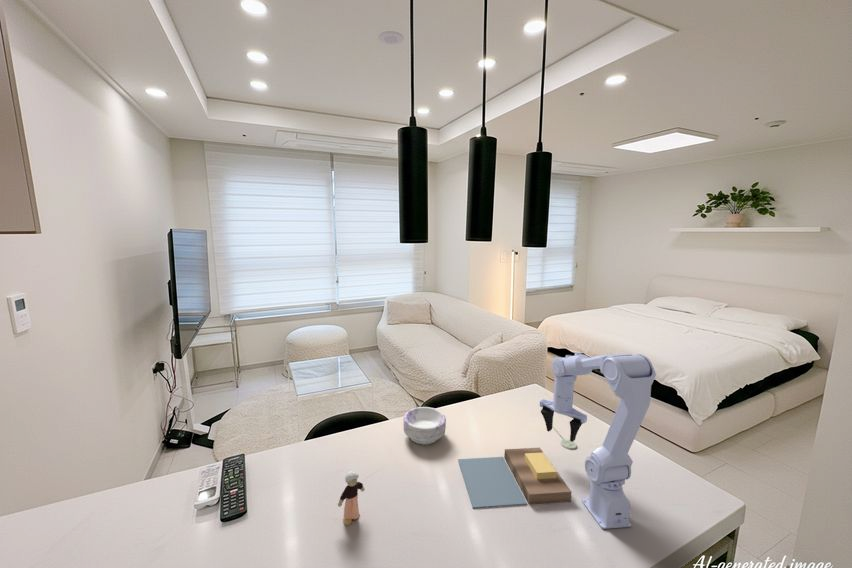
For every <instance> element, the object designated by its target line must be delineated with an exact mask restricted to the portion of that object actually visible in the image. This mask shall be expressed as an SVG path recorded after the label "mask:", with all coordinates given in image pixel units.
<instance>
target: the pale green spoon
mask: <svg viewBox="0 0 852 568" xmlns="http://www.w3.org/2000/svg"><path fill="white" fill-rule="evenodd" d="M552 429H553V430H554V432H556V433H557V434H558V435H559V437H560V438H561V440H560V445H561V446H562V447H563V448H564V449H568V450H576V448H577V442H575V441H573V442H571V441H570V439H566V438H564V437H563V436H562V435H561V434H560V433H559V432H558V431H557V429H556V428H555V427H554V426H552Z"/></svg>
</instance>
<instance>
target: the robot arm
mask: <svg viewBox="0 0 852 568" xmlns="http://www.w3.org/2000/svg"><path fill="white" fill-rule="evenodd" d="M550 366H551V371H552V373H553V375H554V385H553V386H554V387H553V396H552V397H553V399H552V400H553V401H552V400H546V399H544V398H543V399H541V400H539V407H541V409H540V413H541V415H542V417H543V420H544V422H545V426H546V431H547V432H548V433H549V432H551V431H552V429H553V427H554V426H553V424H554V423H553V421H554V413H556V414H559V415H563V416H567V417H569V418H571V420H569V426H570V434H569V440H570V441H571V442H575V440H576V437H577V435H578V432H579V430H580V428H581V426H582V425H583V424H585V423H587V421H588V415H587V414H584V413H582V412H581V411H579V410H577V409H575V408H573V404H574V389H575V382H576V381H577V376H585V375H586V376H587V375H590V374H591V373H592V371H593V370H600V373H601V374H603V376H604V378H605V380H606V382H607V384H608V385H609V386H610V389H611V390H612V392H613V393H614V395H615V396H616V397H618V398H619V399H620V401H619V403H618V405H617V408H616V411H615V413H614V416H613V418H612V420H611V423H610V425H609V427H608V431H607V433H606V436H605V439H604V440H603V443H602V445H600V446H599V447H597V448H596V449H594V450H593V451H592V452H591V453H590V455H589V456H587V457H586V458H585V461H584V470H585V472H586V475H587V477H588V478H589V480H590V485H589V487H590V488H589V498H582V499H581V502H582V504H583V505H584V506H585V507H586V509H587V510H588V511H589V513H590V514H591V516H592V517H593V518H594V520H595V521H596V522H597V524H598V525H599V527H600V528H601V529H603V530H605V529H616V528H617V529H618V528H630V527H632V523H631V522H630V521H629V520H630V519H629V518H630V512H631V511H630V510H631V503H630V501H629V499H628V498H627V496H626V494H625V492H624V490H623V485H625V484H626V483H625V482H626V480H629V479H631V476H632V465H633V462H634V461H633V459H632V457H631V456H630V455H629V451H630V449H631V448H632V445H633V443H634V440H635V439H636V437H637V434H638V432H639V429H640V427H641V424H642V422H644V421H643V420H644V419H645V416H646V414H647V412H648V410H649V407H650V404H651V397H652V396H651V394H652V393H651V392H652V385H653V383H654V380H655V379H656V376H657V373H656V370H655V368H654V366H653V363H652V361H651V360H650V359H649V357H648V356H646V355H644V354H641V353H640V354H639V353H638V354H635V355H634V354H633V353H632V354H629V353H627V354H626V353H611V354H601V355H596V356H591V357H589V356H588V355H587V354H584V353H583V354H582V352H576V353H574V355H572V354H566V355H565V357H557V356H556V357H554V358H553V359H552V361H551V365H550ZM552 426H553V427H552Z"/></svg>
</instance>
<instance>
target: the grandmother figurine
mask: <svg viewBox="0 0 852 568" xmlns="http://www.w3.org/2000/svg"><path fill="white" fill-rule="evenodd" d="M358 478H359V473H358V472H357V471H354V470H353V471H352V470H350V471H349V472H347V473H346V475H345V477H344V481H345V483H346V484H347V485H346V486H345V488H344V490H343V491H342V493H341V495H340V496H339V500H338V503H337V506H338V507H339V508H340V507H342V506H343V503H344V508H343V519H342V522H343V524H344V526H350V525H351V524H352V523H353V521H352V520H358V519H359V518H360V510H359V500H358V496H359V492H358V491H359V490H360V492H364V491H365V487H364V484H363V482H360V481H358ZM344 500H345V502H344Z"/></svg>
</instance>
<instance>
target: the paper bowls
mask: <svg viewBox="0 0 852 568" xmlns="http://www.w3.org/2000/svg"><path fill="white" fill-rule="evenodd" d="M446 422H447V417H446V415H445V414H444V413H443V411H441V410H440V409H438V408H435V407H429V406H419V407H414V408H411V409H410V410H407V412H405V414H404V415H403V432H404V434H405V435H406V436H407V438H409V439H411V440H412V441H413V442H414V443H416V444H418V445H430V444H433V443H435V442H436V441H438V439H440V438H442V437H443V436H444V435H445V434H446V428H447V427H446V426H447V423H446Z"/></svg>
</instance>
